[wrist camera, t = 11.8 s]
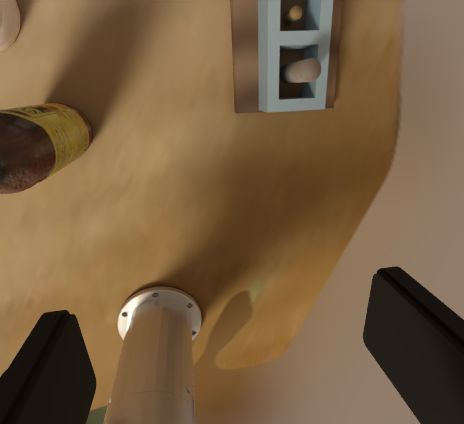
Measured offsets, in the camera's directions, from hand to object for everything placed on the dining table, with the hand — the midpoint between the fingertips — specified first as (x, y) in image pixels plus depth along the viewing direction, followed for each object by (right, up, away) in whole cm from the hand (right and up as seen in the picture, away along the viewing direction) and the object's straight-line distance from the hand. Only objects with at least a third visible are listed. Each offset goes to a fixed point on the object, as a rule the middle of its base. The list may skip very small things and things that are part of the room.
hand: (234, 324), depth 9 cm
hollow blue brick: (+6, +21, +24) cm, 32 cm away
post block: (+6, +23, +25) cm, 34 cm away
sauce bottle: (-19, +13, +25) cm, 34 cm away
